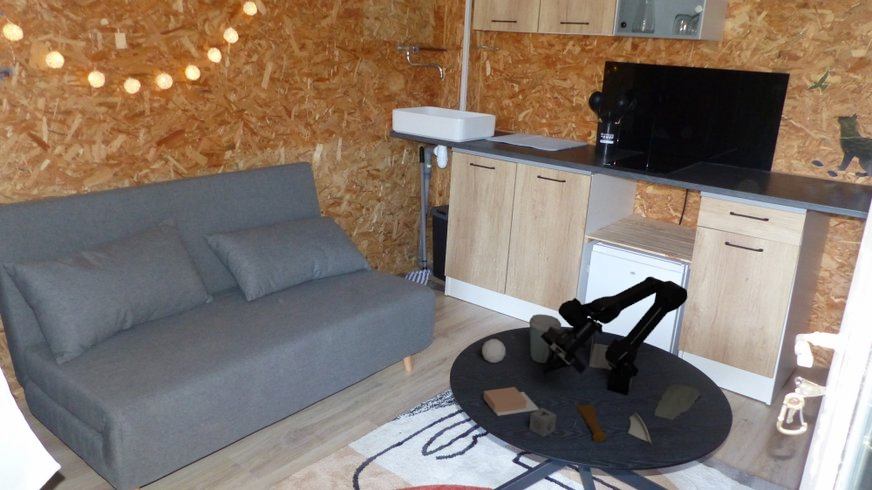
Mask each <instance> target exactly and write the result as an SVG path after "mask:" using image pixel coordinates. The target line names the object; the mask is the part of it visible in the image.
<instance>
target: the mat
mask: <svg viewBox="0 0 872 490" xmlns="http://www.w3.org/2000/svg"><path fill="white" fill-rule="evenodd" d="M519 392H520V391H519ZM520 393H521V395H522V396H523V397H524V398H525V399H526V400H527V401H526V408H521V409H515V410H508V411H501V412H494V413H495V414H496V416H498V417H499V416H506V415H512V414H518V413H526V412H532V411H533V412H534V411H537V410H538V409H539V407H538V406H537V405H536V404H535V402H534V401H532V399H530V397H529V396H528V395H527V394H526V393H525V392H524V391H521V392H520Z"/></svg>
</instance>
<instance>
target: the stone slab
mask: <svg viewBox="0 0 872 490" xmlns="http://www.w3.org/2000/svg"><path fill="white" fill-rule="evenodd" d="M666 390H667V391H664V393H663V394H662V395H661V399H660V400H659V401H658V404H657V406H656V409H655V410H654V416H655V417H658V416H659V417H658V418H661V417H663V418H662V419H665V418H667V419H666V420H669V419H670V420H669V421H673V419H674V418H677V417H676V416H679V415H680V413H682V412H685V411H687V410H689V408H690V407H691V406H692V405H693V404H694V402H695V400H696V399H697V398H698V396H700V394H701V393H700V391H699V390H698V389H697V388H694V387H691V386H688V385H684V384H681V383H674V384H671V385H670V386H668V387H667V388H666ZM700 397H701V396H700ZM677 414H679V415H677Z"/></svg>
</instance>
